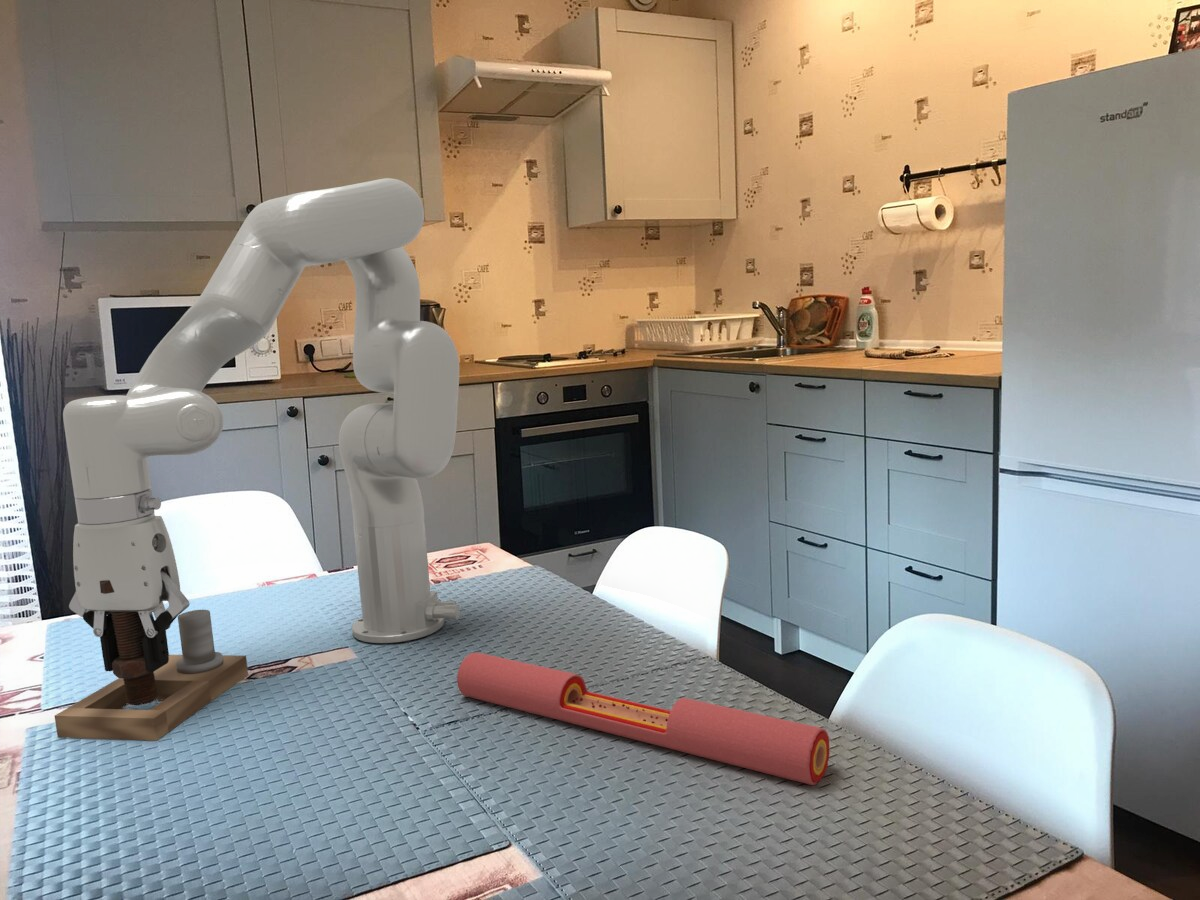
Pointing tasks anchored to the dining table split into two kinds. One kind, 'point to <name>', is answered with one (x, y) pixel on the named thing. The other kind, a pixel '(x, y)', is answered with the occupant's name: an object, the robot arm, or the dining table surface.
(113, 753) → the dining table surface
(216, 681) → the wooden peg holder
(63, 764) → the dining table surface
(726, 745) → the blood vessel
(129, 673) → the bolt
